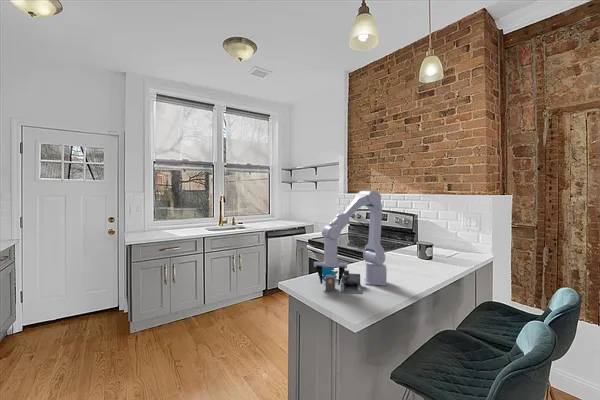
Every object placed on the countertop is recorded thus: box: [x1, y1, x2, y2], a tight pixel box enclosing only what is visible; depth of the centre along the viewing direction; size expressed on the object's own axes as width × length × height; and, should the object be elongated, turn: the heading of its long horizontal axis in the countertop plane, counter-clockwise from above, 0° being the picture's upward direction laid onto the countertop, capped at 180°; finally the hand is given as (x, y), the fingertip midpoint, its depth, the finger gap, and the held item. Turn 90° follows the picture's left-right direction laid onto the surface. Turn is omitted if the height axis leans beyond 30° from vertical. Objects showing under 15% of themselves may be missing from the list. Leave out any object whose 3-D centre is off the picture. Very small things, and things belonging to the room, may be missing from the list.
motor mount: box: [340, 269, 363, 295], centre depth 128 cm, size 9×12×7 cm
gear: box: [322, 267, 339, 282], centre depth 141 cm, size 11×6×10 cm
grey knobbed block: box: [325, 275, 336, 292], centre depth 126 cm, size 4×5×6 cm
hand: (330, 283), depth 126 cm, fingers open, 7 cm apart
